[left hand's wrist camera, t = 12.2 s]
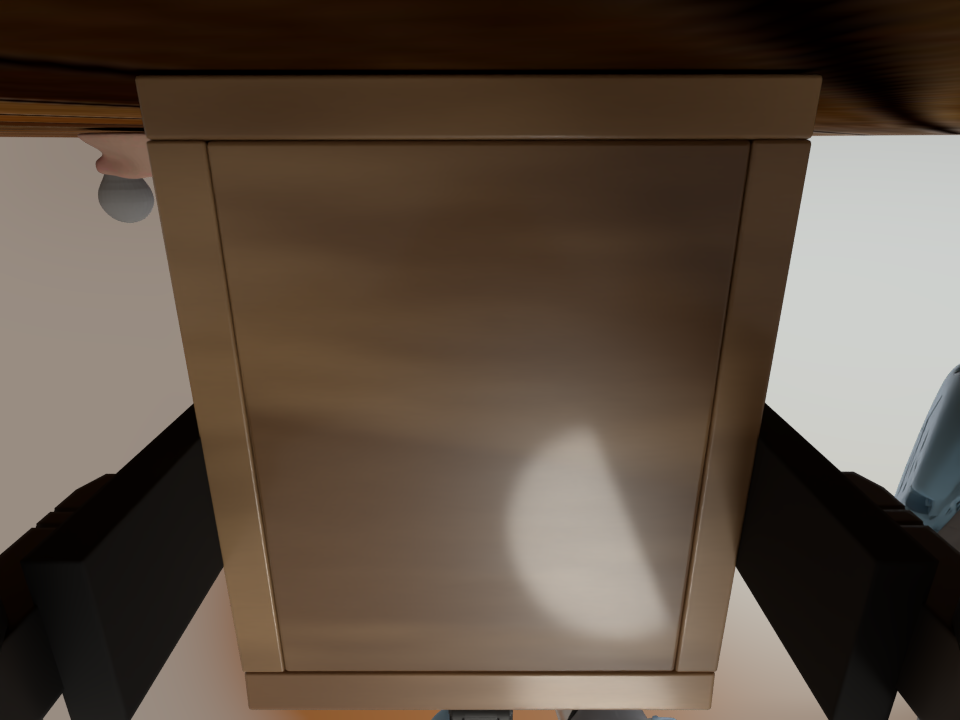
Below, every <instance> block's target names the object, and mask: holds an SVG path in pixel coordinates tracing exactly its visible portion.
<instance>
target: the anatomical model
mask: <svg viewBox="0 0 960 720" xmlns="http://www.w3.org/2000/svg"><path fill="white" fill-rule="evenodd" d="M78 137H79V138H80V139H81V140H83V141H84V142H85V143H87V144H89V145H91V146H93V147H95V148H97V149H98V150H100V151H101V152H102V154H103V155H102V157H100V158H99V159H98V160H97V161H96V168H97V170H98V171H99V172H100V173H102V174H107V175H115V176H119V177H123V178H129V179H139V178H146V177H152V172H151V167H150V161H149V156H148V151H147V145H146V143H147V141H149V140H150V139H148V138H147V137H146V135H145V132H100V133H81V134H78Z"/></svg>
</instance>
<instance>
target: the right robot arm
mask: <svg viewBox="0 0 960 720" xmlns="http://www.w3.org/2000/svg"><path fill="white" fill-rule="evenodd" d="M555 711H556V714H557V717H558V720H676V719H674V718H665V717H658V716H653V718H649V719H647V717H646V716H645V714H644V713H643V711H642V710H555ZM432 720H513V710H441V711H440V712H438V713H437V714H436V715H435V716H434V718H433V719H432Z"/></svg>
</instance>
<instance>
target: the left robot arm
mask: <svg viewBox="0 0 960 720" xmlns="http://www.w3.org/2000/svg"><path fill="white" fill-rule="evenodd" d="M223 567H224V564H223V559H222V553H221V548H220V542H219V537H218V531H217V525H216V520H215V514H214V509H213V503H212V498H211V492H210V487H209V481H208V476H207V470H206V465H205V459H204V454H203V448H202V443H201V437H200V435H199V429H198V424H197V419H196V413H195V408H194V404H192V405H191V406H190V407H189V408H188V409H187V410H186V411H185V412H184V413H183V414H181V415H180V416H179V417H178V418H177V419H176V420H175V421H174V422H173V423H172V424H170V425H169V426H168V427H167V428H166V429H165V430H164V431H163V432H162V433H160V434H159V435H158V436H157V437H156V438H155V439H154V440H153V441H152V442H151V443H149V444H148V445H147V446H146V447H145V448H144V449H143V450H142V451H141V452H140V453H139V454H137V455H136V456H135V457H134V458H133V459H132V460H131V461H130V462H128V463H127V464H126V465H125V466H124V467H123V468H122V469H121V470H120V471H119V472H117V473H116V474H105V475H103V476H101V477H99V478H97V479H96V480H94V481H92V482H90V483H88V484H86V485H84V486H82V487H80V488H78V489H77V490H75V491H74V492H73V493H72V494H71V495H70V496H68V497H67V498H66V499H65V500H64V501H62V502H61V503H60V504H59V505H58V506H57V507H55V510H54V512H50V513H48V514H47V515H46V516H45V517H44V518H43V519H41V520H40V521H39V522H38V523H37V526H36V528H31V529H30V530H29V531H27V532H26V533H25V534H24V535H23V536H22V537H20V538H19V539H18V540H17V541H16V542H15V543H13V544H12V545H11V546H10V547H9V548H8V549H6V550H5V551H4V552H3V553H2V554H1V555H0V720H43V718H44V716H45V715H46V714H47V712H48V711H49V710H50V708H51V707H52V706H53V705H54V703H55V702H56V701H57V699H58V698H59V697H60V695H61V694H62V693H63V696H64V700H65V703H66V706H67V709H68V712H69V715H70V718H71V720H131V718H132V717H133V715H134V713H135V712H136V710H137V708H138V707H139V705H140V704H141V702H142V700H143V699H144V697H145V695H146V694H147V692H148V690H149V689H150V687H151V685H152V684H153V682H154V680H155V679H156V677H157V675H158V674H159V672H160V670H161V669H162V667H163V666H164V664H165V662H166V661H167V659H168V657H169V656H170V654H171V652H172V651H173V649H174V647H175V646H176V644H177V642H178V641H179V639H180V638H181V636H182V634H183V633H184V631H185V629H186V628H187V626H188V624H189V623H190V621H191V619H192V618H193V616H194V614H195V613H196V611H197V609H198V608H199V606H200V604H201V603H202V601H203V600H204V598H205V596H206V595H207V593H208V591H209V590H210V588H211V586H212V585H213V583H214V581H215V580H216V578H217V576H218V575H219V573H220V571H221V570H222V568H223ZM736 568H737V569H738V571H739V573H740V574H741V576H742V578H743V579H744V581H745V582H746V584H747V586H748V587H749V589H750V591H751V592H752V594H753V596H754V597H755V599H756V601H757V602H758V604H759V606H760V607H761V609H762V611H763V612H764V614H765V616H766V617H767V619H768V620H769V622H770V624H771V625H772V627H773V629H774V630H775V632H776V634H777V635H778V637H779V639H780V640H781V642H782V644H783V645H784V647H785V649H786V650H787V652H788V653H789V655H790V657H791V658H792V660H793V662H794V663H795V665H796V667H797V668H798V670H799V672H800V673H801V675H802V677H803V678H804V680H805V682H806V683H807V685H808V687H809V688H810V690H811V691H812V693H813V695H814V696H815V698H816V700H817V701H818V703H819V705H820V706H821V708H822V710H823V711H824V713H825V715H826V716H827V718H828V720H888V718H889V715H890V712H891V709H892V706H893V703H894V700H895V697H896V694H897V691H898V692H899V693H900V694H901V696H902V697H903V698H904V700H905V701H906V702H907V703H908V705H909V706H910V707H911V709H912V710H913V711H914V713H915V714H916V715H917V717H918V718H917V720H960V364H959V365H957V366H956V367H955V368H954V369H953V370H952V371H951V372H950V373H949V374H948V376H947V377H946V379H945V380H944V382H943V384H942V386H941V388H940V390H939V392H938V394H937V396H936V398H935V400H934V402H933V404H932V406H931V408H930V410H929V412H928V415H927V417H926V419H925V421H924V424H923V426H922V428H921V431H920V433H919V435H918V438H917V440H916V443H915V445H914V448H913V450H912V452H911V455H910V457H909V460H908V462H907V465H906V467H905V470H904V473H903V475H902V478H901V480H900V483H899V486H898V489H897V491H896V494H895V497H894V496H893V495H892V494H891V493H889V492H888V491H887V490H886V489H885V488H884V487H882V486H880V485H878V484H876V483H874V482H872V481H870V480H868V479H866V478H864V477H863V476H861V475H859V474H857V473H855V472H841V471H840V470H838V469H837V468H836V467H835V466H834V465H833V464H832V463H831V462H830V461H829V460H827V459H826V458H825V457H824V456H823V455H822V454H821V453H820V452H819V451H817V450H816V449H815V448H814V447H813V446H812V445H811V444H810V443H809V442H808V441H806V440H805V439H804V438H803V437H802V436H801V435H800V434H799V433H798V432H797V431H795V430H794V429H793V428H792V427H791V426H790V425H789V424H788V423H787V422H786V421H784V420H783V419H782V418H781V417H780V416H779V415H778V414H777V413H776V412H774V411H773V410H772V409H771V408H770V407H769V406H768V405H767V404H766V403H765V404H764V410H763V415H762V421H761V427H760V432H759V438H758V443H757V449H756V455H755V460H754V466H753V471H752V477H751V482H750V488H749V494H748V499H747V505H746V510H745V516H744V521H743V527H742V533H741V538H740V544H739V549H738V555H737V561H736Z"/></svg>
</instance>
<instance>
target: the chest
mask: <svg viewBox="0 0 960 720" xmlns="http://www.w3.org/2000/svg"><path fill="white" fill-rule="evenodd" d="M135 81H136V87H137V92H138V98H139V103H140V109H141V114H142V120H143V125H144V131H145V135H146V137H147V138H148V139H150V140H149V141H147V143H146V145H147V151H148V156H149V161H150V167H151V172H152V178H153V183H154V189H155V194H156V200H157V205H158V211H159V216H160V222H161V227H162V233H163V238H164V243H165V249H166V254H167V260H168V265H169V271H170V276H171V282H172V287H173V293H174V298H175V304H176V309H177V315H178V320H179V325H180V331H181V336H182V342H183V347H184V353H185V358H186V364H187V369H188V375H189V380H190V386H191V391H192V397H193V402H194V408H195V413H196V419H197V424H198V429H199V435H200V437H201V443H202V448H203V454H204V459H205V465H206V470H207V476H208V481H209V487H210V492H211V498H212V503H213V509H214V514H215V520H216V525H217V531H218V537H219V542H220V548H221V553H222V559H223V564H224V572H225V577H226V583H227V588H228V594H229V599H230V604H231V610H232V615H233V621H234V626H235V632H236V637H237V643H238V648H239V654H240V659H241V665H242V670H243V671H244V672H283V671H284V670H285V669H286V670H287V671H672V670H674V668H675V670H676V671H678V672H715V671H716V670H717V667H718V661H719V655H720V650H721V644H722V639H723V633H724V628H725V622H726V616H727V611H728V605H729V600H730V594H731V588H732V583H733V577H734V572H735V566H736V561H737V555H738V549H739V544H740V538H741V533H742V527H743V521H744V516H745V510H746V505H747V499H748V494H749V488H750V482H751V477H752V471H753V466H754V460H755V455H756V449H757V443H758V438H759V432H760V427H761V421H762V415H763V410H764V404H765V399H766V393H767V387H768V382H769V376H770V371H771V365H772V360H773V354H774V348H775V343H776V337H777V332H778V326H779V321H780V315H781V309H782V303H783V298H784V292H785V287H786V281H787V276H788V270H789V265H790V259H791V254H792V248H793V242H794V237H795V231H796V226H797V220H798V215H799V209H800V203H801V198H802V192H803V186H804V181H805V175H806V170H807V164H808V159H809V153H810V148H811V142H810V141H809V140H806V139H809V138H811V136H812V134H813V129H814V124H815V118H816V112H817V107H818V101H819V96H820V90H821V85H822V76H821V75H819V74H363V75H139V76H137V77H136V79H135Z"/></svg>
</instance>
